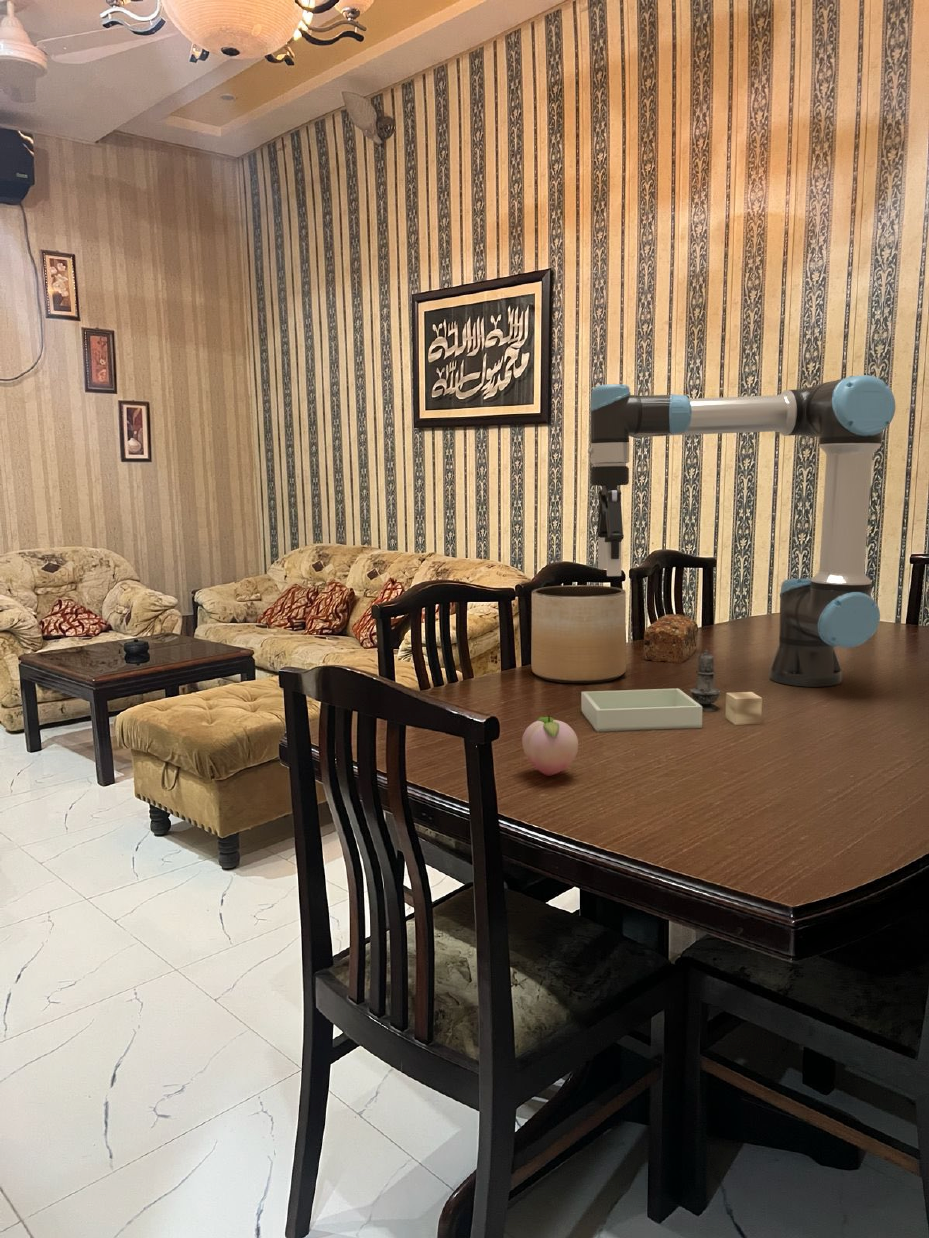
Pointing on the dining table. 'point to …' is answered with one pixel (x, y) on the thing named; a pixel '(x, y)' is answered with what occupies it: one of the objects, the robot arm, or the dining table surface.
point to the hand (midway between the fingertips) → (609, 572)
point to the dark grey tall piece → (706, 684)
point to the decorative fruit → (550, 745)
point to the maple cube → (743, 708)
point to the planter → (578, 633)
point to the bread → (671, 639)
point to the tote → (640, 710)
